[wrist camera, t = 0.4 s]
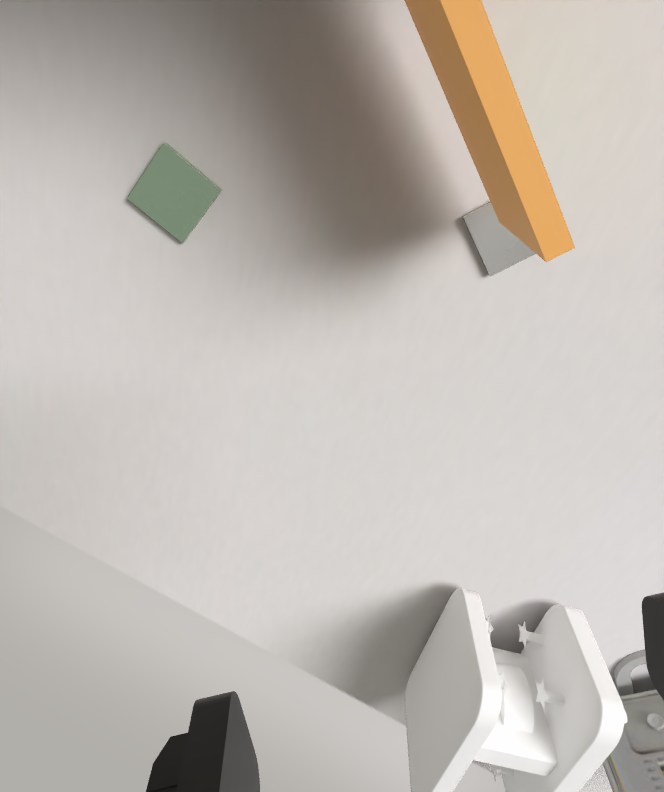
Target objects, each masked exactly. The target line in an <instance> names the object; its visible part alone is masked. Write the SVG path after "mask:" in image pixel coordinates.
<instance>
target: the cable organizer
mask: <svg viewBox="0 0 664 792" xmlns="http://www.w3.org/2000/svg"><path fill="white" fill-rule="evenodd" d="M518 626H519V630H520V638H519V642H523V644H524V646H525V647H524V649H523V650H522V652H521V654H518V653H514V652H510V651H506V650H501V649H497V648H493V647H492V645H491V641H490V633H491V632H492V630H493V627H492V625H491V624H490V614H489V617H488V619H485V616H484V612H483V608H482V604H481V599H480V596H479V594H478V593H477V592H474V591H470V590H466V589H462V588H458V589H456V590H455V591H454V592H453V593H452V595H451V596H450V598H449V600H448V602H447V604H446V606H445V608H444V610H443V612H442V614H441V616H440V618H439V620H438V622H437V624H436V626H435V628H434V630H433V632H432V634H431V636H430V637H429V639H428V641H427V643H426V645H425V647H424V649H423V651H422V653H421V655H420V657H419V659H418V661H417V663H416V665H415V667H414V669H413V671H412V673H411V675H410V677H409V680H408V684H407V688H406V694H405V713H406V728H407V740H408V741H407V742H408V756H409V770H410V784H411V792H453V790H454V789H455V787H456V786H457V784H458V783H459V781H460V780H461V778H462V777H463V775H464V774H465V772H466V771H467V769H468V767H469V766H470V764H471V763H472V761H473V760H475V761H479V762H484V763H488V764H490V768H489V770H490V771H493V774H494V778H495V780H496V773H499V774H502V777H503V782H504V786H505V791H506V792H579V791H580V789H581V788H582V787H583V786H584V785H585V783H586V782H587V781H588V780H589V779H590V777H591V776H592V775H593V774H594V773H595V771H596V770H597V769H598V768H599V766H600V765H601V764H602V763H603V762H604V760H605V759H606V758H607V757H608V756H609V754H610V753H611V752H612V751H613V750H614V748H615V747H616V746H617V744H618V742H619V740H620V738H621V735H622V732H623V728H624V723H625V724H626V723H627V715H626V712H625V710H624V707H623V703H622V701H621V698H620V696H619V694H618V691H617V689H616V687H615V685H614V682H613V680H612V678H611V675H610V673H609V671H608V668H607V666H606V664H605V662H604V659H603V657H602V655H601V652H600V650H599V648H598V645H597V643H596V641H595V639H594V636H593V634H592V632H591V629H590V627H589V625H588V623H587V620H586V618H585V616H584V614H583V612H582V611H581V610H579V609H577V608H573V607H569V606H565V605H561V604H556V605H554V606H552V607H551V608H550V609H549V610H548V611H547V612H546V614H545V615H544V617H543V619H542V620H541V622H540V623H539V625H538V626H537V628H536V630H535V631H534V633H533V632H529V631H526V627H525V621H524V624H523V626H520V625H519V624H518ZM526 641H528V642H527V644H526Z"/></svg>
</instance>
